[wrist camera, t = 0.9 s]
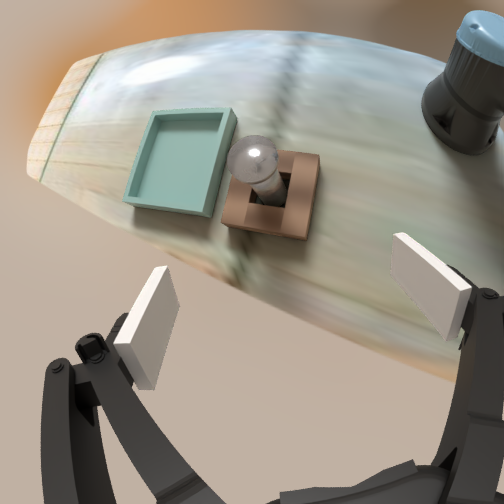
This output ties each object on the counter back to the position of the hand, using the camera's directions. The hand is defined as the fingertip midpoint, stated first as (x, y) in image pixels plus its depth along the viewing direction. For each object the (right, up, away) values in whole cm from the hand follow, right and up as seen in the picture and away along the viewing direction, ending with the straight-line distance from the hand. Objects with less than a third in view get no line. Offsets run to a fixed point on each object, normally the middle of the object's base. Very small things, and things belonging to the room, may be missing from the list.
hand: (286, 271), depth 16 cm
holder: (+1, +10, +26) cm, 28 cm away
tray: (-14, +17, +31) cm, 38 cm away
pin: (+1, +10, +26) cm, 28 cm away
